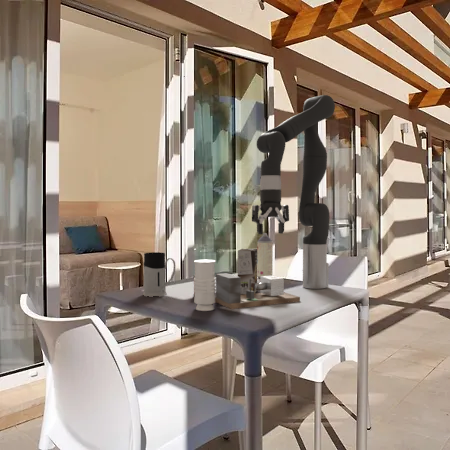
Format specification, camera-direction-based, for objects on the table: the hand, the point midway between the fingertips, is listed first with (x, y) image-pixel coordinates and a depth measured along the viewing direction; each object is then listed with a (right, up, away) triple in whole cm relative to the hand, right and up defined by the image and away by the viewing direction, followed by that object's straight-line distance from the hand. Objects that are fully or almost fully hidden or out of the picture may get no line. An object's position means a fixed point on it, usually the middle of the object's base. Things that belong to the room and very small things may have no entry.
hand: (270, 233), depth 162 cm
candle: (-23, -23, -21) cm, 39 cm away
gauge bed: (-6, -23, -11) cm, 26 cm away
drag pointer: (-8, -20, -17) cm, 28 cm away
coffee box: (-8, -22, +6) cm, 24 cm away
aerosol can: (+2, -21, +42) cm, 46 cm away
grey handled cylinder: (-40, -22, +1) cm, 46 cm away
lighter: (-24, -23, -3) cm, 33 cm away
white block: (-2, -20, -9) cm, 22 cm away
